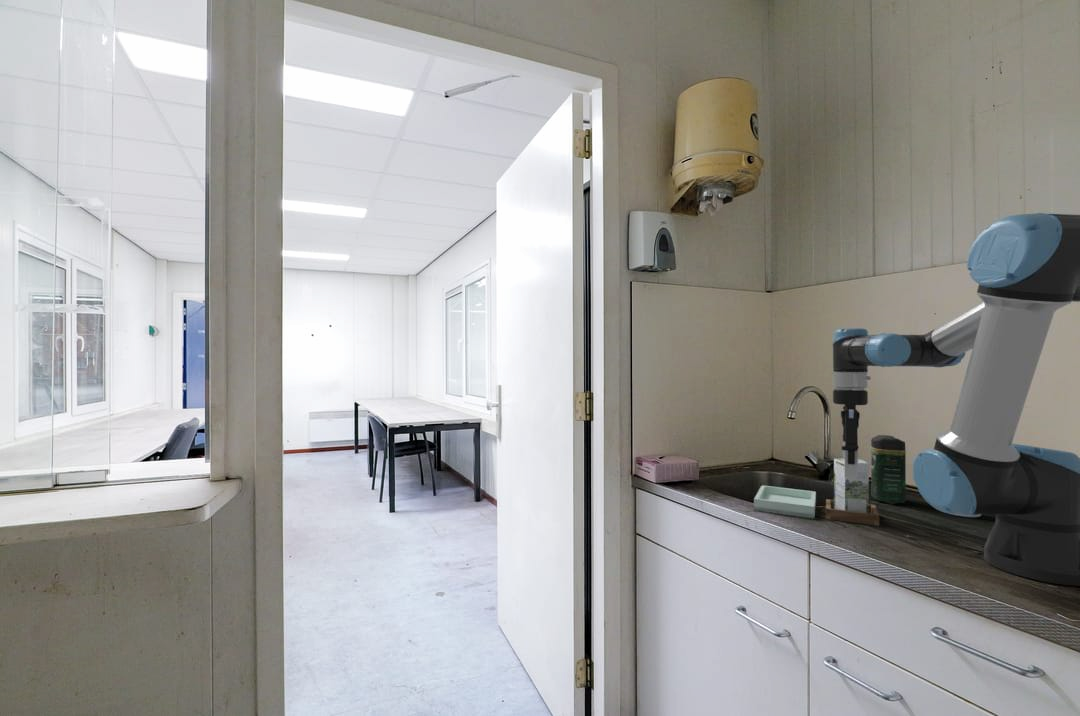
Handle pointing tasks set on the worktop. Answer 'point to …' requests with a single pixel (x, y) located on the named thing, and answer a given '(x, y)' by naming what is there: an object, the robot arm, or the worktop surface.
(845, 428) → the robot arm
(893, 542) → the worktop surface
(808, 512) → the mint tray
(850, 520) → the walnut collar
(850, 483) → the syrup box
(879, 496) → the coffee jar
